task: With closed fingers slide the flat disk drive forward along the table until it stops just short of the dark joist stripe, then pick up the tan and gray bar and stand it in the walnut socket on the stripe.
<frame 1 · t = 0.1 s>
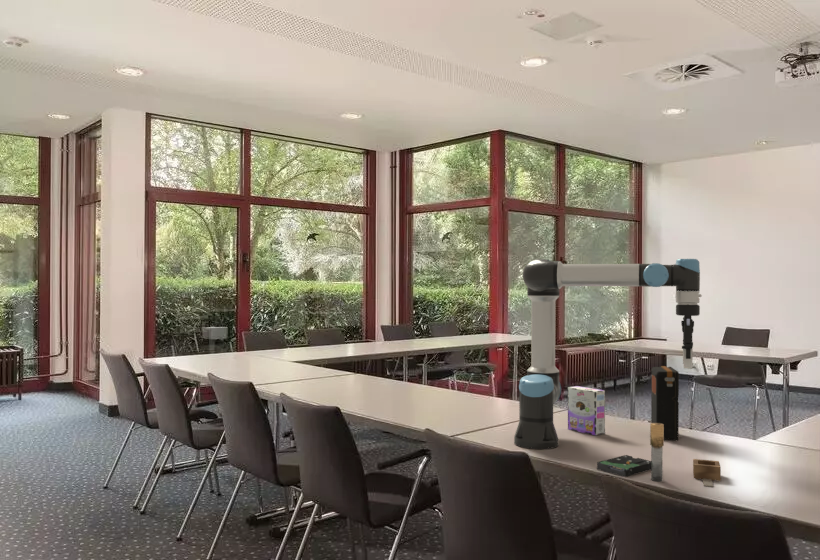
hand: (687, 366, 233), 28 cm above the table, tool pointing down, fingers open, 13 cm apart
tan and gray bar: (656, 480, 196), on the table
candy box: (586, 432, 259), on the table
disk drive: (625, 471, 207), on the table
joist stripe: (706, 476, 199), on the table
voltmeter: (665, 436, 251), on the table
socket: (706, 476, 199), on the table
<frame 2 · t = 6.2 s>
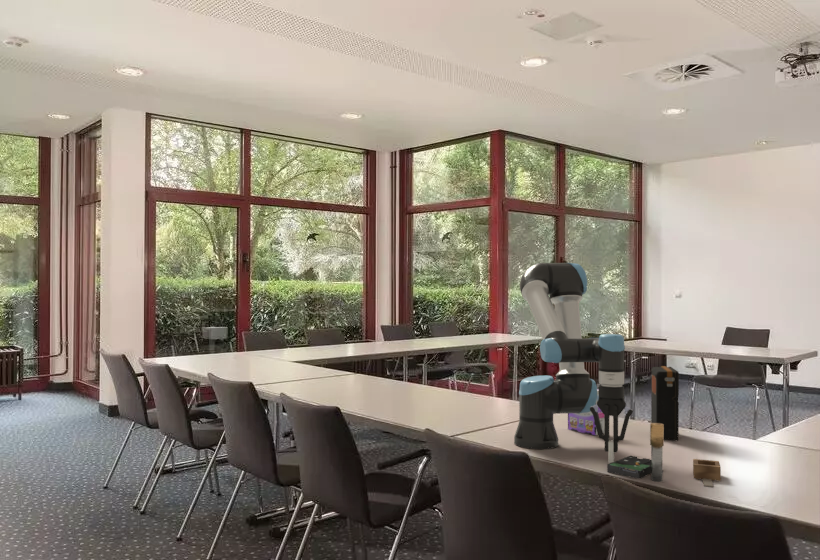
hand: (611, 462, 208), 2 cm above the table, tool pointing down, fingers closed
disk drive: (634, 472, 206), on the table
everything else where it was.
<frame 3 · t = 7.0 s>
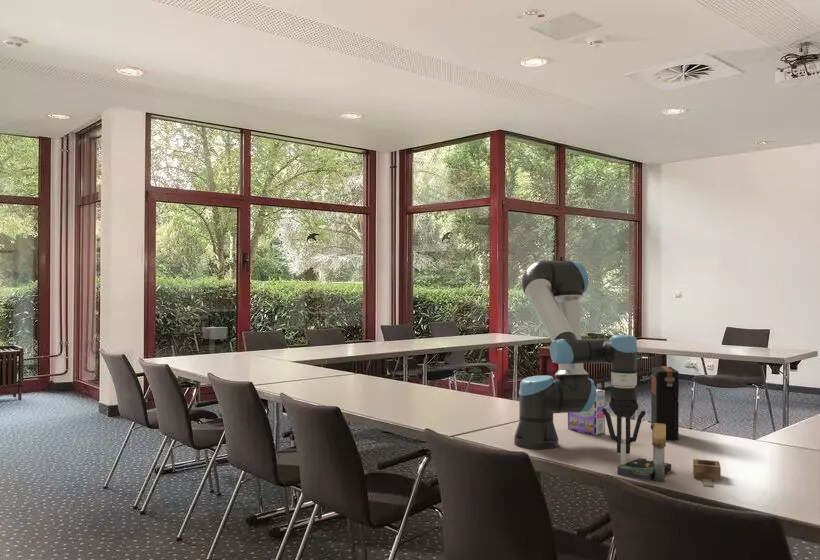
hand: (623, 463, 207), 1 cm above the table, tool pointing down, fingers closed
disk drive: (644, 474, 203), on the table, touching gripper
everything else where it was.
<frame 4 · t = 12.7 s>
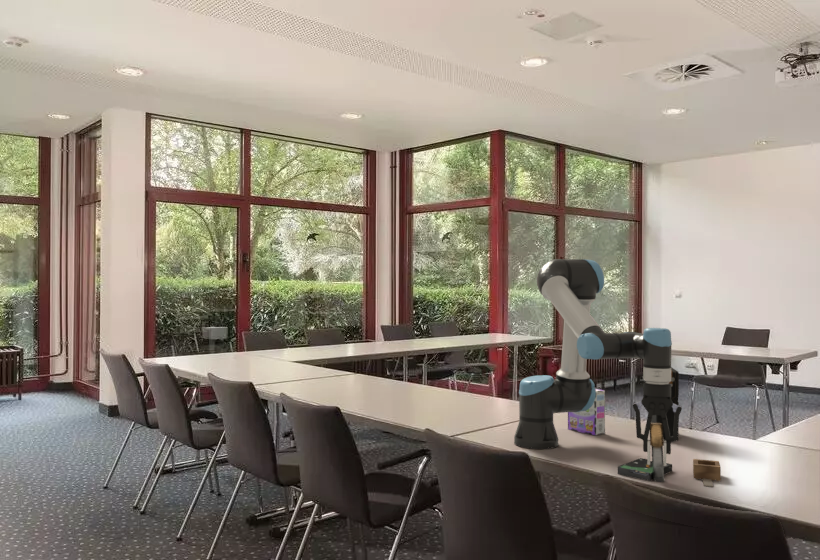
hand: (656, 463, 196), 5 cm above the table, tool pointing down, fingers closed on tan and gray bar, 4 cm apart
tan and gray bar: (658, 480, 195), on the table, touching gripper
disk drive: (645, 474, 203), on the table
everything else where it was.
when the fingers open (6 cm above the table, at t = 18.5 s): tan and gray bar drops 1 cm, resting on joist stripe.
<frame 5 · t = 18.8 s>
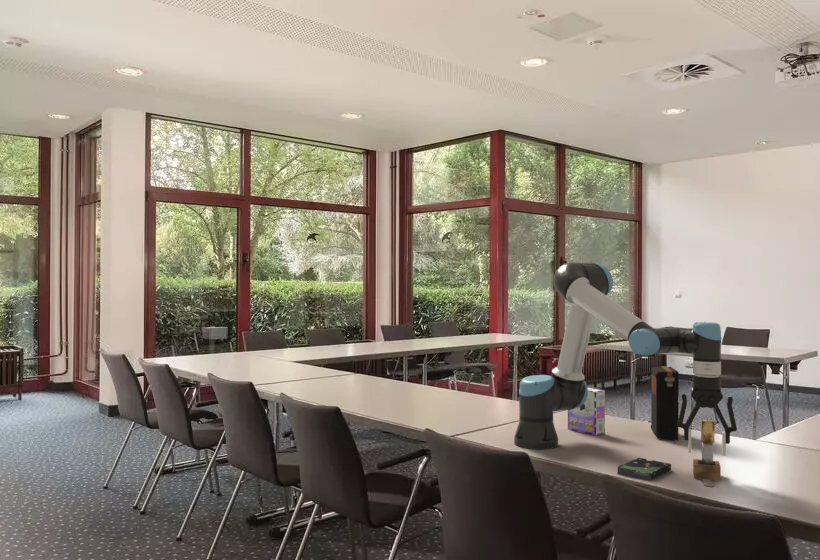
hand: (706, 453, 199), 7 cm above the table, tool pointing down, fingers open, 8 cm apart
tan and gray bar: (707, 475, 199), resting on joist stripe
everything else where it was.
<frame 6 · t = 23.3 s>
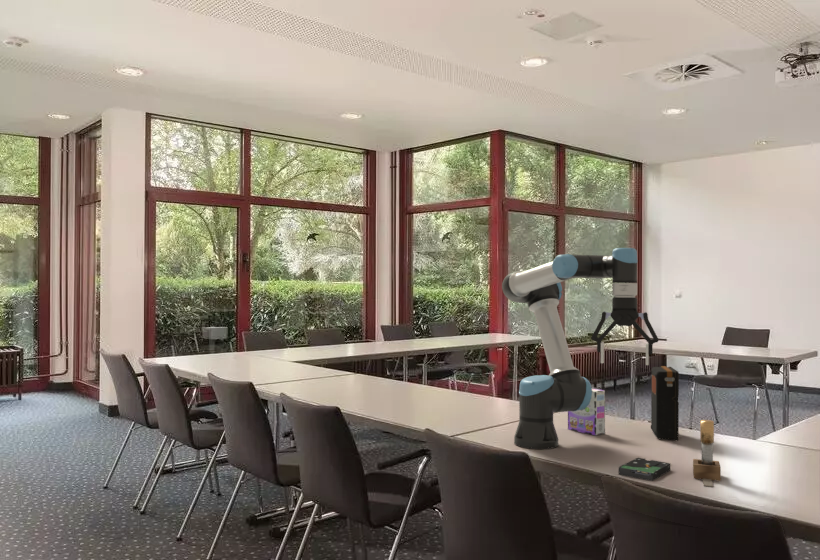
hand: (624, 363, 216), 31 cm above the table, tool pointing down, fingers open, 13 cm apart
nothing on the table moved.
at the end: disk drive inside the target area (4.8 cm from its centre), on the table; tan and gray bar 0.4 cm off-centre on the socket, point 0.3 cm above the socket's base; tan and gray bar tilted 1° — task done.
